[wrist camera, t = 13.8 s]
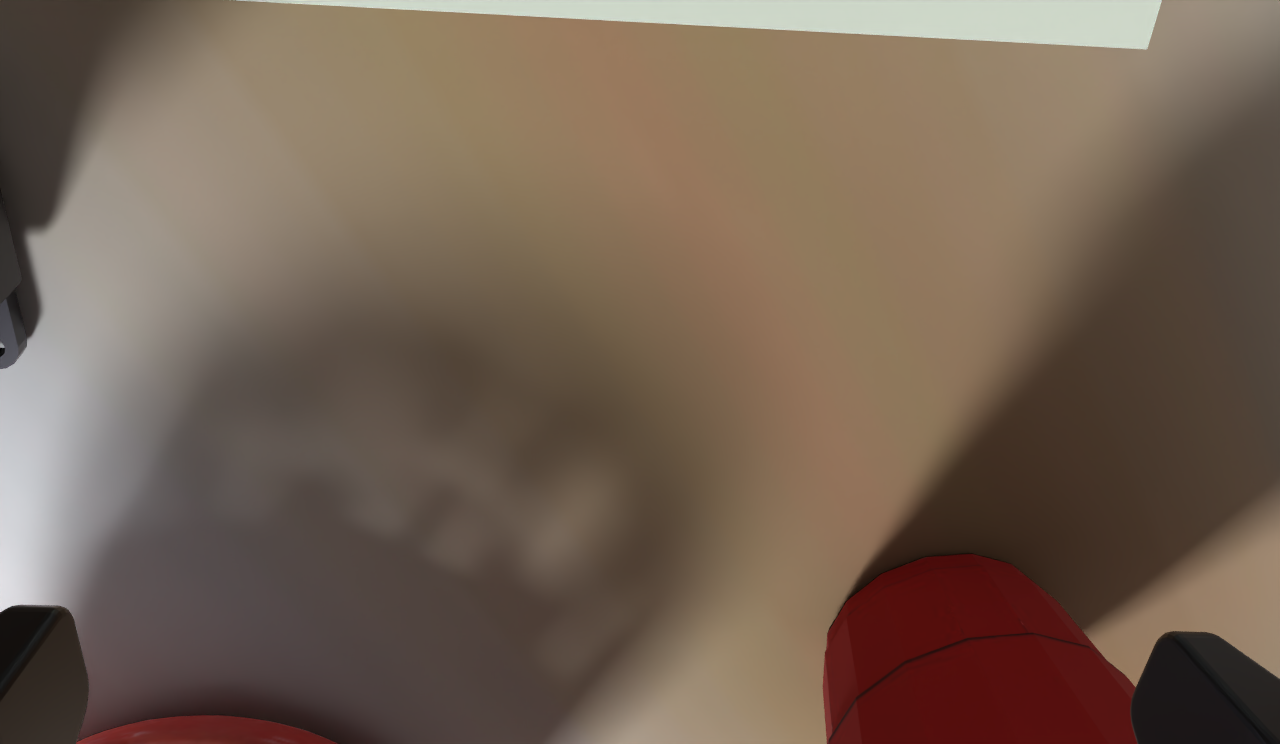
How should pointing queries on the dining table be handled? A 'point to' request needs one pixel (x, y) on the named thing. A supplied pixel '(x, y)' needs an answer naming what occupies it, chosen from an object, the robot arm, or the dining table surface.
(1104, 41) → the tray
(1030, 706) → the plastic cup
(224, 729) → the plant pot
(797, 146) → the dining table surface
